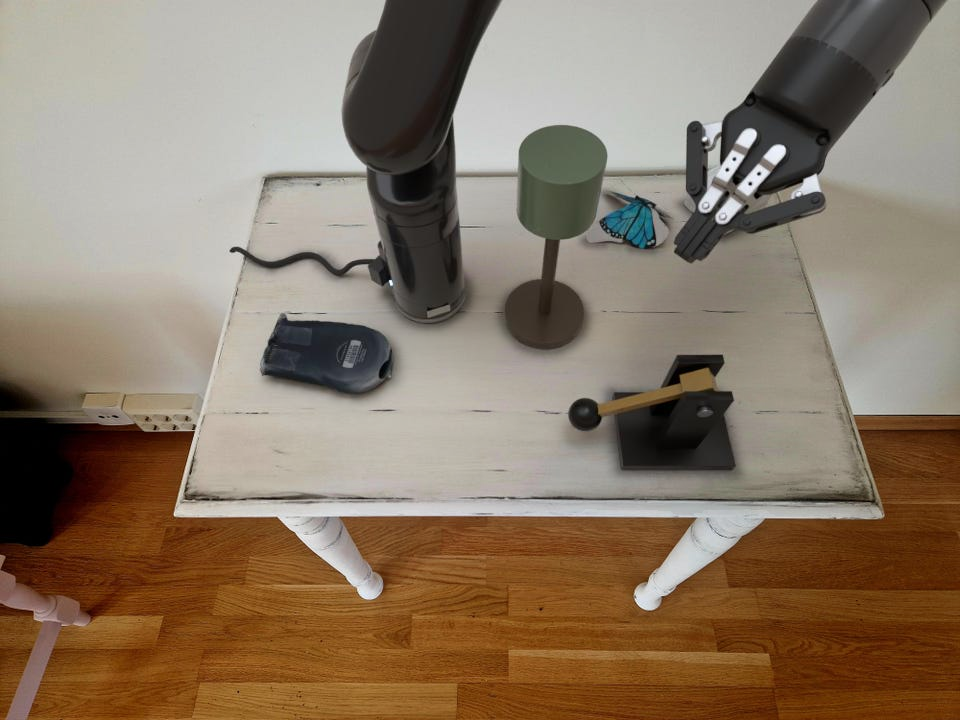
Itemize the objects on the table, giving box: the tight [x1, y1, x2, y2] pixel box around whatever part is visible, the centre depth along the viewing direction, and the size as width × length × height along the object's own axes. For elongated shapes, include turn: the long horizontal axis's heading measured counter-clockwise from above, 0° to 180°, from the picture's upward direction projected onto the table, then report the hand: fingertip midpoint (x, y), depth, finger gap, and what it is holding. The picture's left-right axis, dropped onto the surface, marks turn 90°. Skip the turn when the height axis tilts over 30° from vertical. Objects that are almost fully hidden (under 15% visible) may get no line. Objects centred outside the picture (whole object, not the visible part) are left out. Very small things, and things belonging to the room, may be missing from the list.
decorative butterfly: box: [585, 180, 674, 250], centre depth 79 cm, size 10×6×10 cm
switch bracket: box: [612, 354, 737, 471], centre depth 59 cm, size 12×9×13 cm
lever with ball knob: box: [567, 368, 719, 433], centre depth 58 cm, size 15×4×4 cm
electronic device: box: [259, 312, 394, 395], centre depth 69 cm, size 9×6×15 cm
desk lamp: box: [504, 124, 609, 351], centre depth 62 cm, size 10×10×26 cm
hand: (683, 258), depth 49 cm, fingers closed
